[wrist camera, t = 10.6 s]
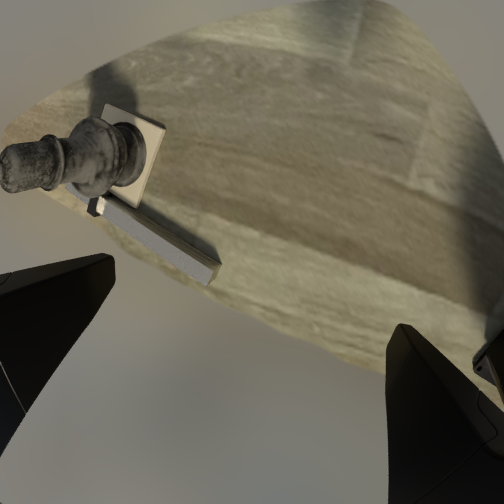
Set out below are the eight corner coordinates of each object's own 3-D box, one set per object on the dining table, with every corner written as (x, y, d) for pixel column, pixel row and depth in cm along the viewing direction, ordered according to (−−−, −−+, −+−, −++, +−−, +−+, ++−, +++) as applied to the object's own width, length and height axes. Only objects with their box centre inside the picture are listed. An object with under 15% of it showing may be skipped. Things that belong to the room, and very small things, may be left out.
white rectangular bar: (222, 261, 23) (211, 270, 21) (213, 281, 24) (202, 292, 22) (79, 169, 25) (64, 172, 24) (75, 188, 26) (60, 191, 24)
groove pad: (166, 129, 21) (162, 129, 21) (138, 207, 24) (135, 208, 24) (108, 103, 22) (105, 103, 22) (87, 174, 25) (84, 174, 25)
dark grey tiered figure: (157, 125, 21) (13, 126, 10) (141, 200, 23) (8, 242, 13) (104, 112, 22) (-25, 115, 11) (91, 179, 25) (-30, 208, 14)
